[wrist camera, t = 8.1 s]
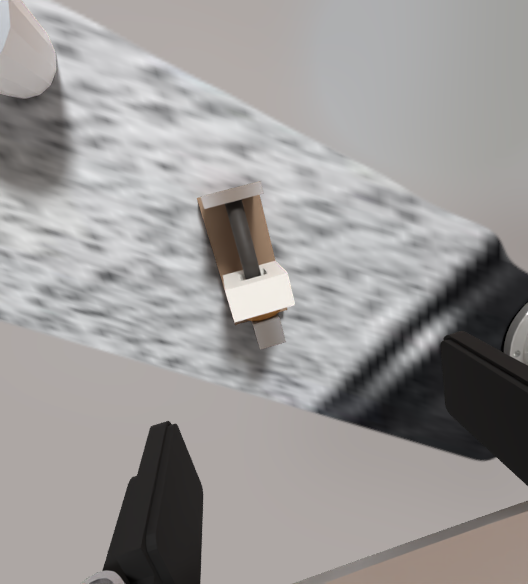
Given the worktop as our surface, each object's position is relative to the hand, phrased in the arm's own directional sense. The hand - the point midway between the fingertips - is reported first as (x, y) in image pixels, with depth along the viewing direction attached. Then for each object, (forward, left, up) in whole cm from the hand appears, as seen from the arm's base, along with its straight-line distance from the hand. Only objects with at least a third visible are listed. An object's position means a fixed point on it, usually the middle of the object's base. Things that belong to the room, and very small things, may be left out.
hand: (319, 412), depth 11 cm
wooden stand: (0, -2, -20) cm, 20 cm away
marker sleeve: (0, 0, -16) cm, 16 cm away
